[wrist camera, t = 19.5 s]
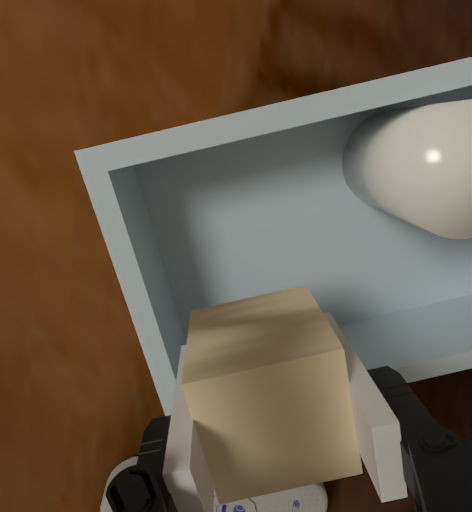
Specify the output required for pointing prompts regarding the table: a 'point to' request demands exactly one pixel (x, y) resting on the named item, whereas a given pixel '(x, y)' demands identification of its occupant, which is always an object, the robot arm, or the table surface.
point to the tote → (282, 228)
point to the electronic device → (255, 498)
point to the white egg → (416, 165)
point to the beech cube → (269, 395)
